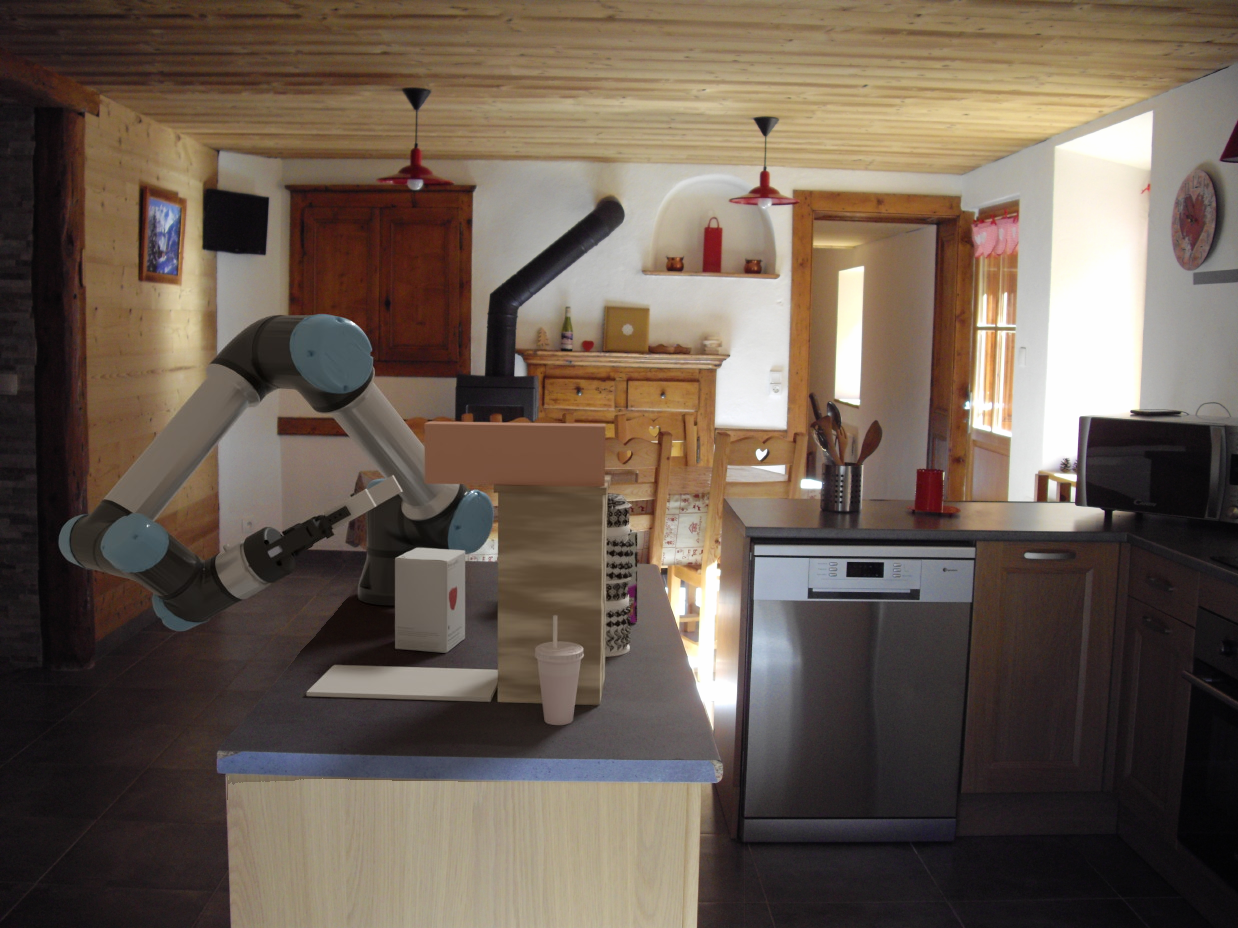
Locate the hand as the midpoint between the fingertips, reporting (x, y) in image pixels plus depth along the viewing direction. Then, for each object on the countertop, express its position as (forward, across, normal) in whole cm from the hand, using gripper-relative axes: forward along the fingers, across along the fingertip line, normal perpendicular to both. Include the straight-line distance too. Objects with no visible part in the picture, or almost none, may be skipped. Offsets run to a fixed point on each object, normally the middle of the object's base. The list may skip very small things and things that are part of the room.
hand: (385, 490), depth 146 cm
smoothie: (+8, -12, +37) cm, 40 cm away
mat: (-11, 0, +26) cm, 28 cm away
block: (+17, -3, +8) cm, 19 cm away
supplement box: (-13, +20, +25) cm, 35 cm away
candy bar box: (+10, +35, +39) cm, 54 cm away
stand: (+7, 0, +36) cm, 37 cm away
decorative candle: (+12, +20, +39) cm, 46 cm away
